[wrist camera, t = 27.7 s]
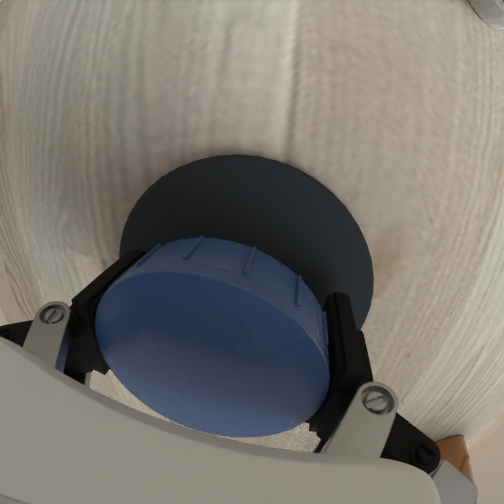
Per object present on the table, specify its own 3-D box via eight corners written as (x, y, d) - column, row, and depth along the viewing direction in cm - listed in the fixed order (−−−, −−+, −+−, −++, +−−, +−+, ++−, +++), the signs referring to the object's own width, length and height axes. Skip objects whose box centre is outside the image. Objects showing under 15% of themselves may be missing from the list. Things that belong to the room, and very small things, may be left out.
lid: (117, 216, 7) (75, 240, 6) (360, 267, 7) (376, 310, 5) (136, 369, 10) (117, 400, 9) (294, 412, 10) (290, 450, 8)
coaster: (324, 389, 13) (324, 397, 13) (137, 344, 14) (132, 351, 14) (405, 191, 9) (411, 194, 8) (124, 143, 10) (116, 144, 9)
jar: (439, 460, 17) (447, 531, 8) (394, 467, 18) (397, 548, 8) (475, 431, 15) (492, 512, 5) (431, 440, 15) (443, 536, 6)
